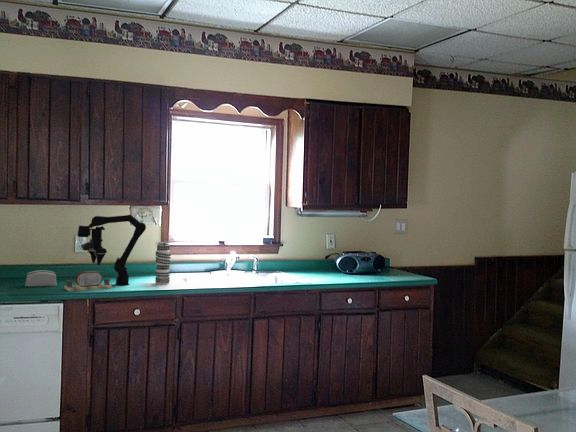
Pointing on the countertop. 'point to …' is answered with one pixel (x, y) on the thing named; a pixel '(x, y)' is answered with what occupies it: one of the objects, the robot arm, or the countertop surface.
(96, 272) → the tin
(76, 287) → the tan long piece
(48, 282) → the grey arched block
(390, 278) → the countertop surface
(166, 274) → the decorative candle
